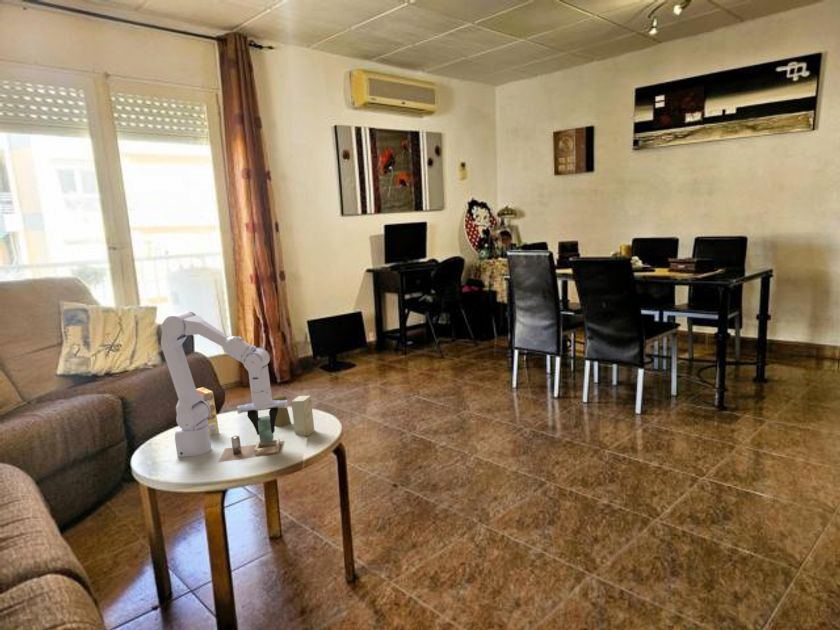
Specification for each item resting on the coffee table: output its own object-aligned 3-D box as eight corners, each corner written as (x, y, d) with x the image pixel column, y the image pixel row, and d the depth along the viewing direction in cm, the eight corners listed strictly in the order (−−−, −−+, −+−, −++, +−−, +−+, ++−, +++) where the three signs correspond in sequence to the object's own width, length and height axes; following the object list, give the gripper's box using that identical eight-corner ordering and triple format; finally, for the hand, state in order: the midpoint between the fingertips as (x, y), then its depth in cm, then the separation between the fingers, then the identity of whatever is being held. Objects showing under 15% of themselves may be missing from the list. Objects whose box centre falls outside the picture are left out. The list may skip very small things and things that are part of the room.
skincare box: (307, 437, 175) (303, 401, 173) (294, 437, 176) (290, 401, 174) (314, 430, 181) (311, 395, 179) (302, 430, 182) (298, 395, 180)
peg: (260, 443, 163) (257, 421, 162) (261, 438, 166) (258, 417, 165) (272, 441, 163) (269, 419, 162) (273, 437, 167) (271, 415, 166)
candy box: (219, 434, 183) (214, 390, 181) (207, 438, 181) (201, 394, 178) (209, 428, 190) (203, 386, 187) (197, 432, 187) (191, 389, 185)
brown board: (219, 464, 158) (217, 456, 158) (225, 451, 168) (224, 443, 168) (282, 456, 161) (281, 448, 161) (284, 443, 171) (283, 436, 170)
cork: (286, 421, 191) (282, 391, 190) (294, 425, 187) (291, 394, 185) (270, 426, 187) (266, 396, 186) (278, 430, 183) (275, 399, 181)
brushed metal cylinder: (232, 455, 162) (230, 439, 162) (233, 451, 165) (231, 436, 164) (240, 453, 163) (238, 438, 162) (242, 450, 165) (240, 435, 164)
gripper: (286, 383, 167) (291, 425, 169) (237, 388, 165) (243, 431, 167) (284, 389, 160) (289, 433, 162) (233, 395, 158) (239, 439, 160)
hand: (266, 432), depth 164 cm, fingers closed on peg, 4 cm apart
